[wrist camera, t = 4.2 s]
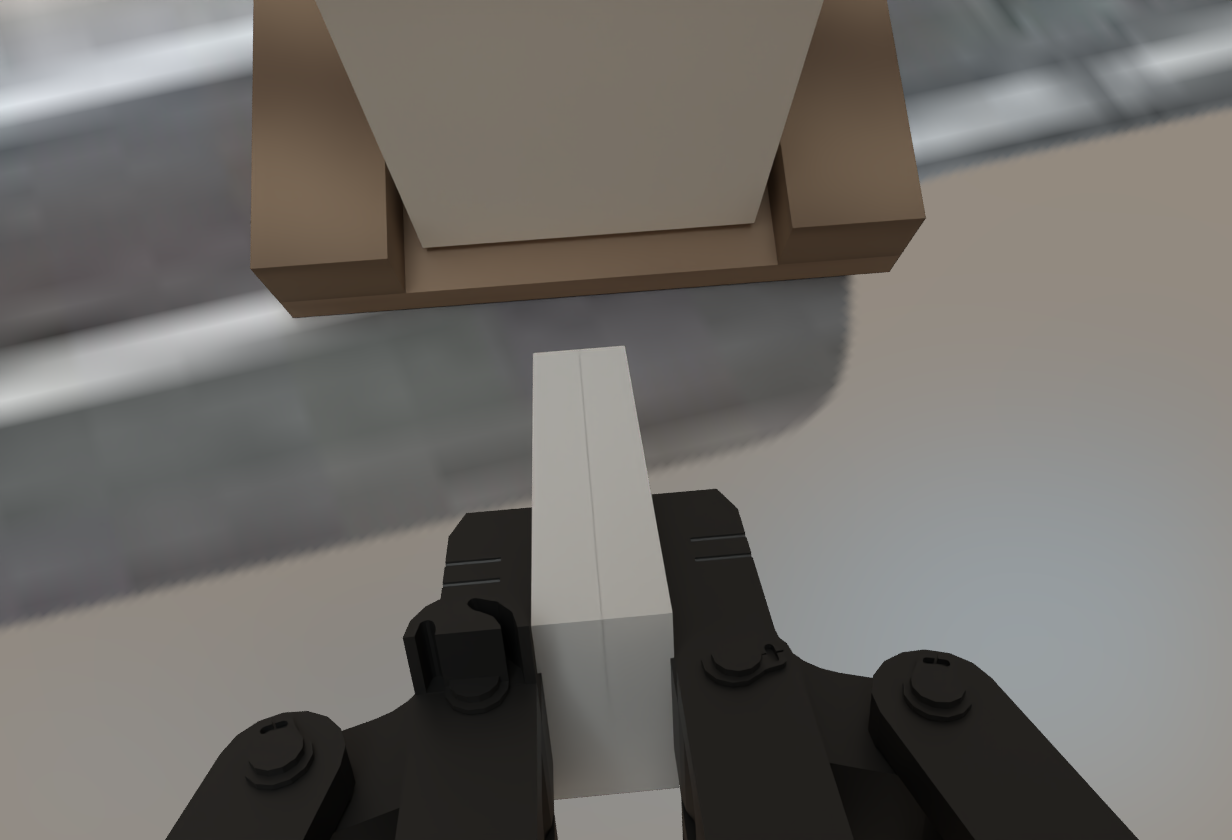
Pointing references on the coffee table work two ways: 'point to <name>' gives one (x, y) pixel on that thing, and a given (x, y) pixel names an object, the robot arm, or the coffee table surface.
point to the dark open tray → (582, 265)
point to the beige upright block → (573, 109)
